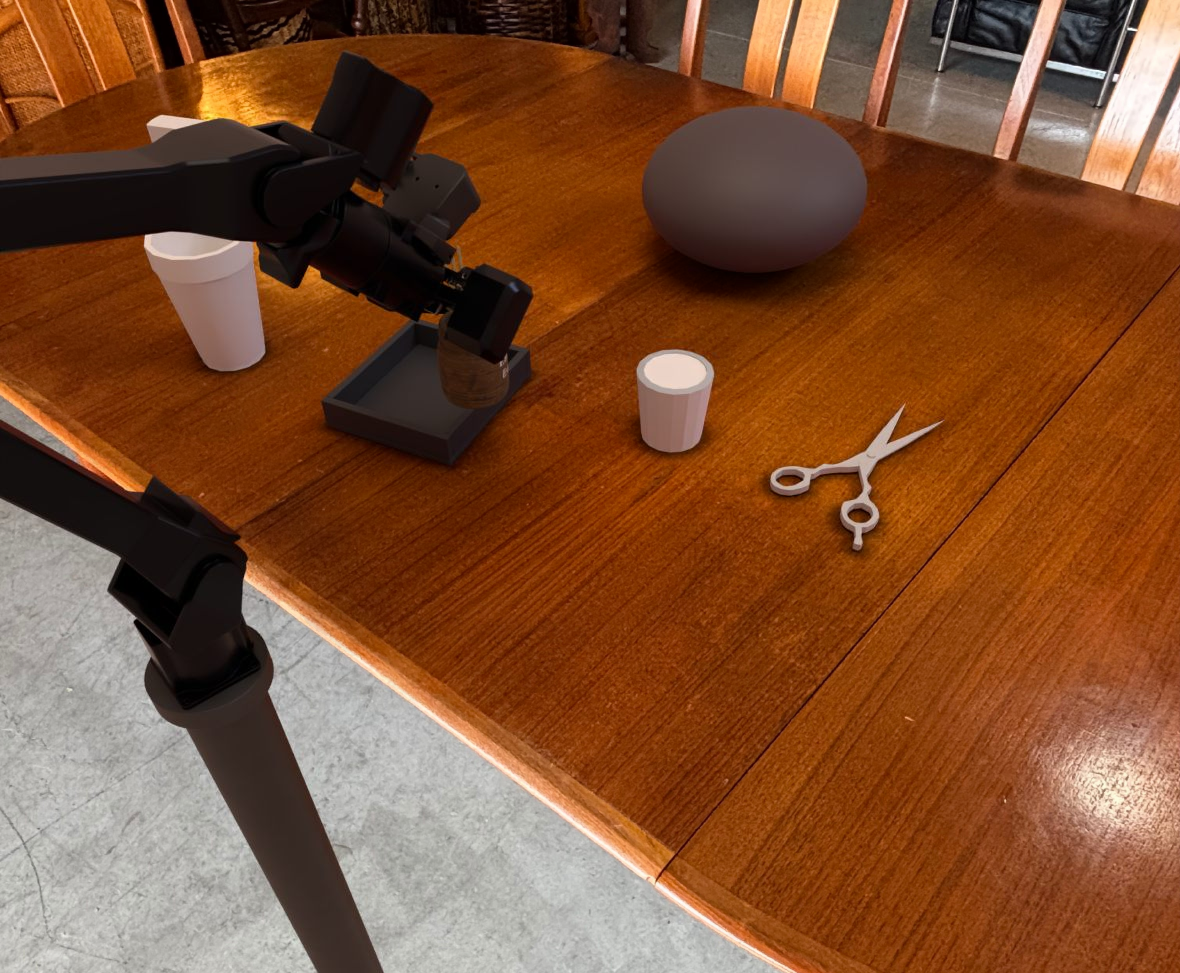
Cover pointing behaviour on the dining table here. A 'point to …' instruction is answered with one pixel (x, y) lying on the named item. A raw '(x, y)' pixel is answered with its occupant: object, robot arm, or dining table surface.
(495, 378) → the utensil holder
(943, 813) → the dining table surface
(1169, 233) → the dining table surface
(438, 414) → the baking tray
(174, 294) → the foam cup
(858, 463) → the scissors
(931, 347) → the dining table surface
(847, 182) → the smooth stone
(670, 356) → the shot glass
